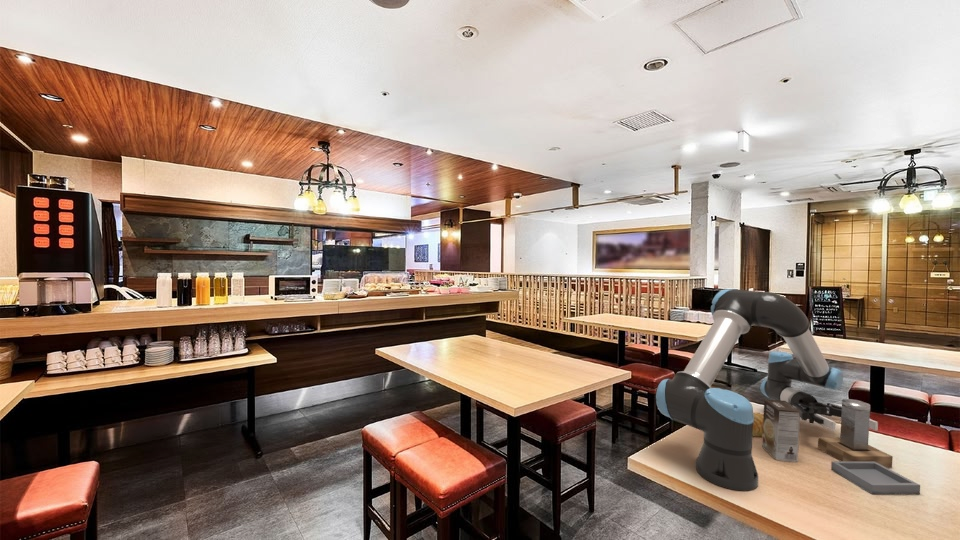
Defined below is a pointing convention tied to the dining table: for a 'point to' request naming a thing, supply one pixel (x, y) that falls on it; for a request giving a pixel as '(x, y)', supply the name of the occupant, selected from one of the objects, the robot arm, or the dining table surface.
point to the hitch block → (853, 452)
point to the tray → (875, 477)
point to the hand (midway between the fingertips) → (855, 426)
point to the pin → (855, 425)
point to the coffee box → (781, 430)
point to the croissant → (758, 424)
